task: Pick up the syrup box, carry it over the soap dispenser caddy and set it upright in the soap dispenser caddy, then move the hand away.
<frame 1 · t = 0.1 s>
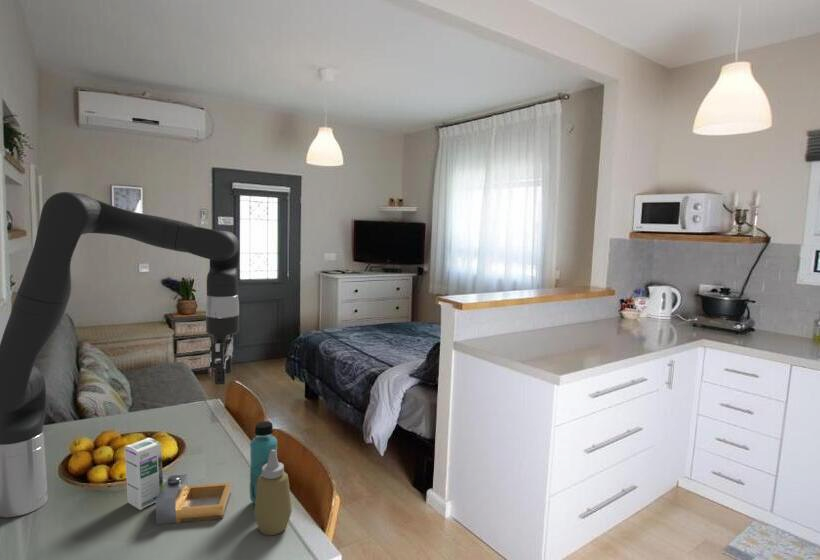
hand: (223, 378, 115), 29 cm above the table, tool pointing down, fingers open, 8 cm apart
beverage bottle: (264, 503, 114), on the table
syrup box: (145, 501, 113), on the table
soap dispenser caddy: (198, 508, 111), on the table
squeeze bottle: (273, 528, 105), on the table
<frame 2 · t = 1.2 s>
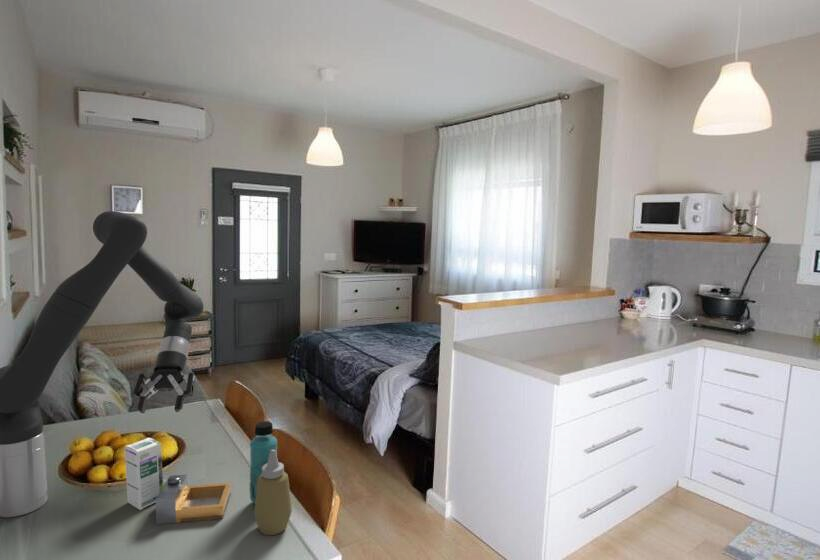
hand: (159, 411, 122), 18 cm above the table, tool tilted 45°, fingers open, 8 cm apart
nothing on the table moved.
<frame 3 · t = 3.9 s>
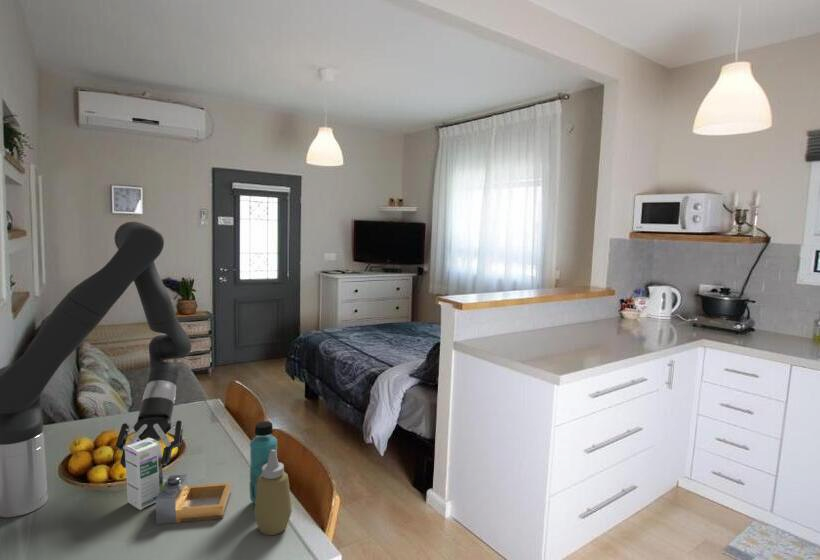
hand: (144, 465, 112), 9 cm above the table, tool tilted 45°, fingers closed on syrup box, 8 cm apart
syrup box: (145, 501, 113), on the table, touching gripper
everything else where it was.
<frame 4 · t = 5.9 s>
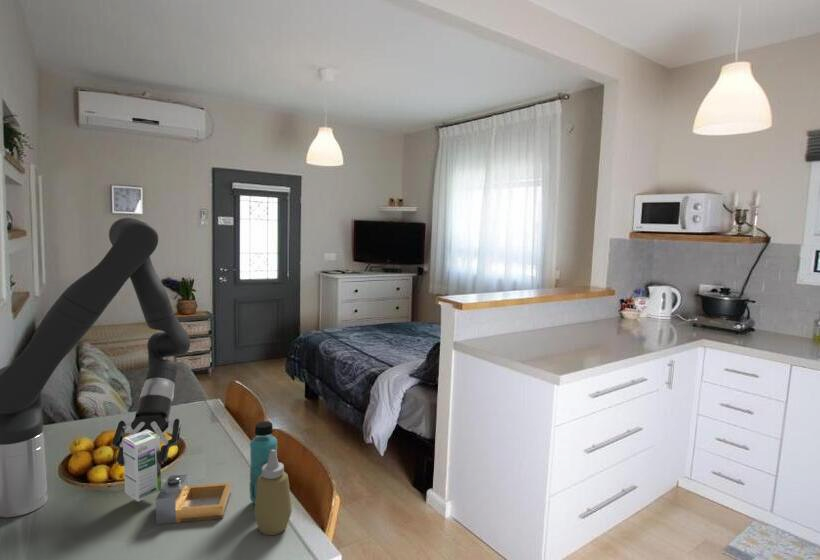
hand: (141, 464, 111), 10 cm above the table, tool tilted 45°, fingers closed on syrup box, 8 cm apart
syrup box: (143, 492, 113), point 2 cm above the table, touching gripper
everything else where it was.
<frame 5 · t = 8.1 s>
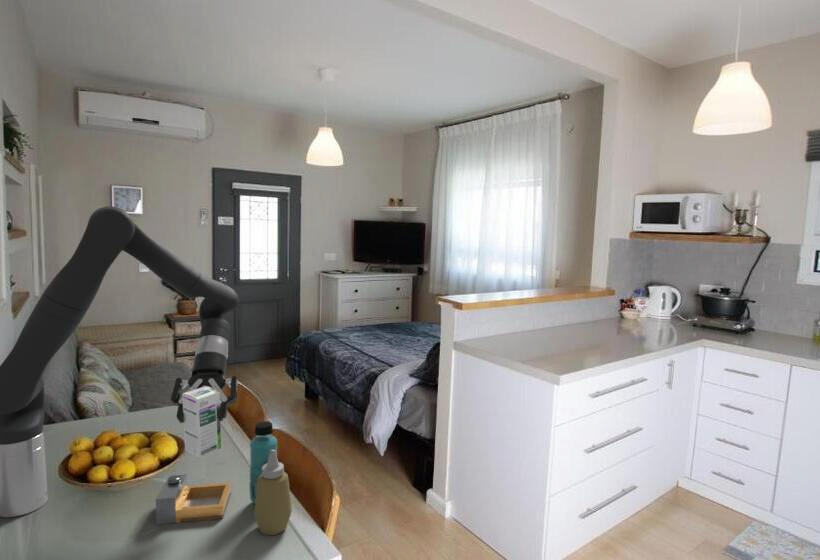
hand: (201, 420, 107), 22 cm above the table, tool tilted 45°, fingers closed on syrup box, 8 cm apart
syrup box: (202, 450, 110), point 14 cm above the table, touching gripper
everything else where it was.
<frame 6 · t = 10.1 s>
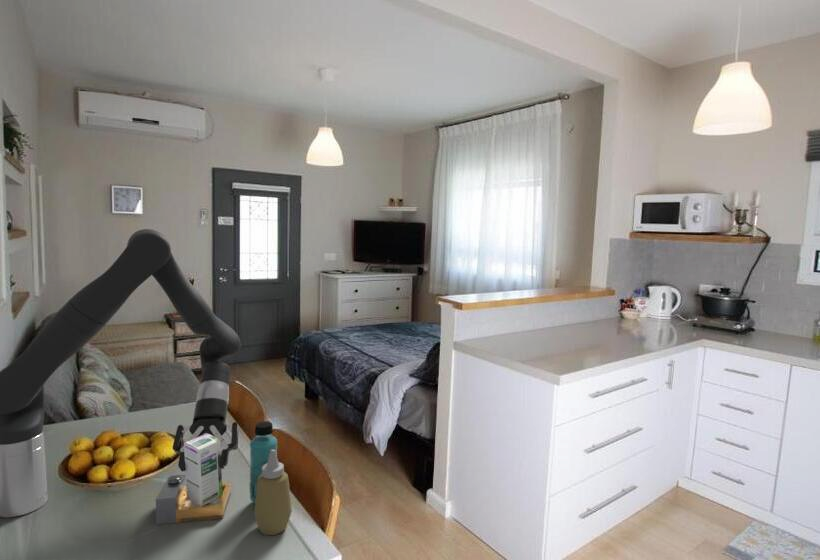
hand: (202, 469, 109), 10 cm above the table, tool tilted 45°, fingers closed on syrup box, 8 cm apart
syrup box: (204, 497, 111), point 2 cm above the table, touching gripper
everything else where it was.
when the fingers open (11 cm above the table, at t = 11.9 s): syrup box stays where it is, resting on soap dispenser caddy.
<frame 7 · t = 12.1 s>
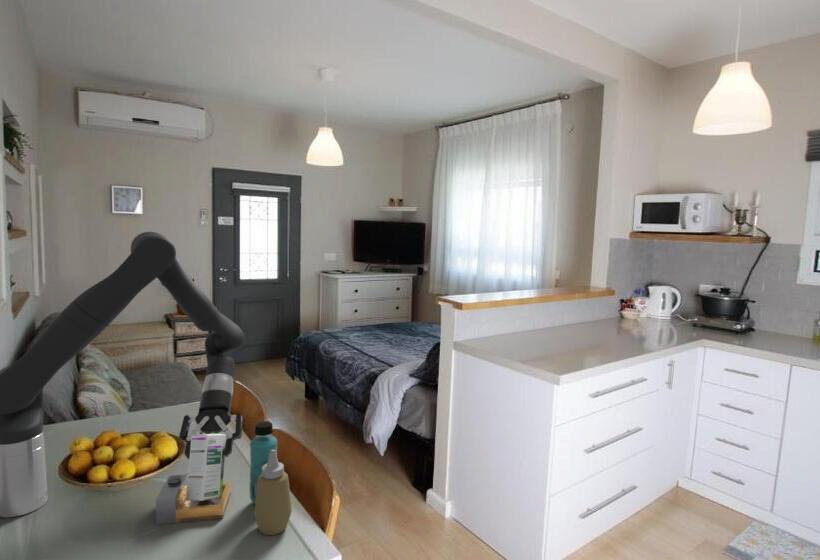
hand: (207, 457, 114), 11 cm above the table, tool tilted 45°, fingers open, 8 cm apart
syrup box: (203, 499, 110), point 2 cm above the table, touching soap dispenser caddy
everything else where it was.
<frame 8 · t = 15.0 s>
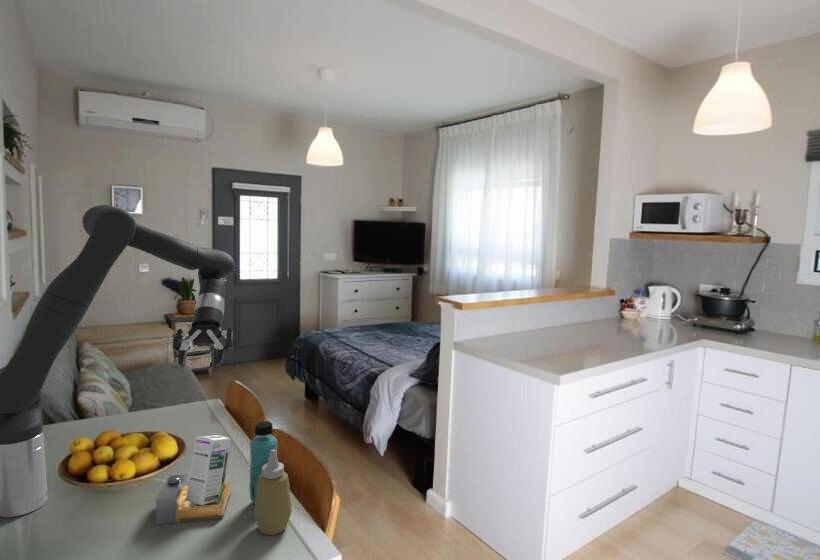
hand: (199, 365, 120), 31 cm above the table, tool tilted 45°, fingers open, 8 cm apart
at the end: syrup box 0.6 cm from the target spot on the soap dispenser caddy, point 1.9 cm above the soap dispenser caddy's base; syrup box tilted 18°; the gripper is holding nothing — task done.
